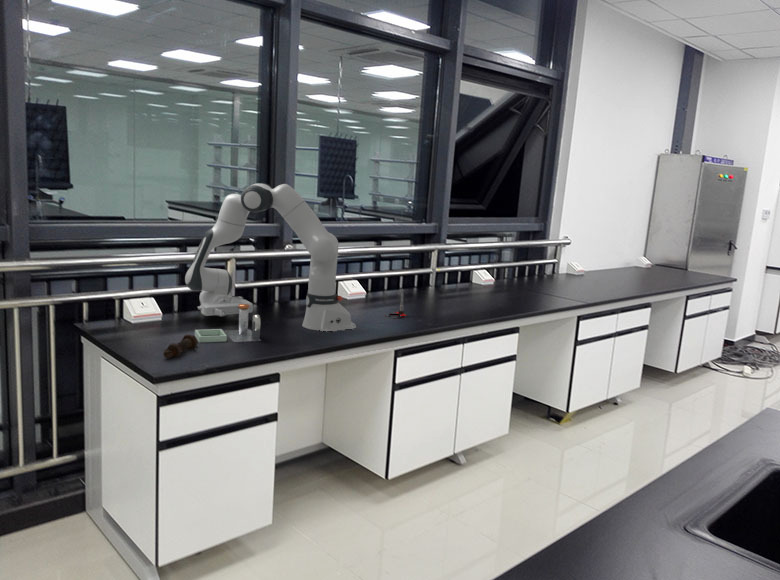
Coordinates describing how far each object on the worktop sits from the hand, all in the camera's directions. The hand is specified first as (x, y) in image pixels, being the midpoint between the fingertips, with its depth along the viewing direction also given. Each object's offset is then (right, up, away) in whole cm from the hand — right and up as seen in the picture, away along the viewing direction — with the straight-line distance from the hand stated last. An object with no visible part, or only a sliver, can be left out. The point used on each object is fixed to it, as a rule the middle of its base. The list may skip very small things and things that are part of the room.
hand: (234, 312), depth 242 cm
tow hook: (+63, -4, +48) cm, 79 cm away
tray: (-5, -10, -16) cm, 19 cm away
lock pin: (+5, -8, -6) cm, 11 cm away
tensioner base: (+5, -9, -9) cm, 14 cm away
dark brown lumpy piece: (-10, -13, -34) cm, 38 cm away
